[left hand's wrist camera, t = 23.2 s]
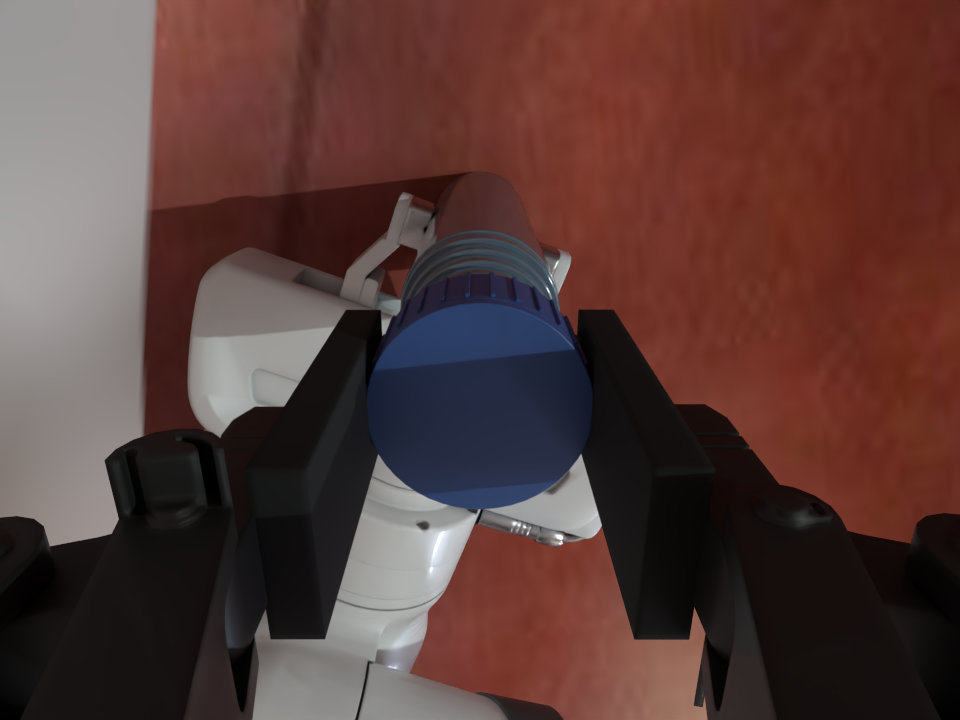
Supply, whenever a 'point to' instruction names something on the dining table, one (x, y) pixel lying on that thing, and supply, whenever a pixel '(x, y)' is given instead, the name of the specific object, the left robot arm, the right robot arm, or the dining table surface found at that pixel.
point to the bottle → (479, 238)
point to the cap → (479, 393)
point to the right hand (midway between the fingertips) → (486, 223)
